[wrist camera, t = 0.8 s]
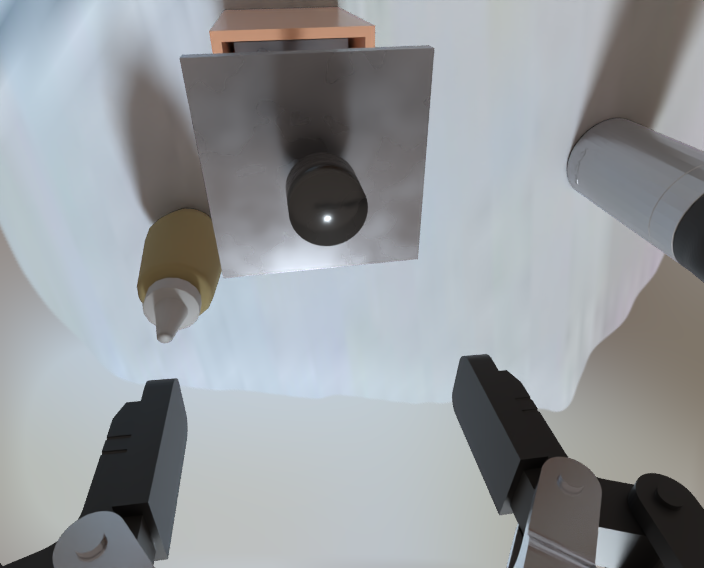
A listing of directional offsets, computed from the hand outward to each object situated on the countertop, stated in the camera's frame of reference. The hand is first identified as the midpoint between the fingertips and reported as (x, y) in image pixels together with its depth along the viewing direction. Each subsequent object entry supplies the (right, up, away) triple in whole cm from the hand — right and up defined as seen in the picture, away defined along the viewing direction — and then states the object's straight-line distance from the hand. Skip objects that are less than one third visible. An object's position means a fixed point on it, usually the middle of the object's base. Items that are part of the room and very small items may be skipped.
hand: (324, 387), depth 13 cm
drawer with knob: (-3, +17, +22) cm, 28 cm away
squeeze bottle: (-17, +9, +38) cm, 43 cm away
